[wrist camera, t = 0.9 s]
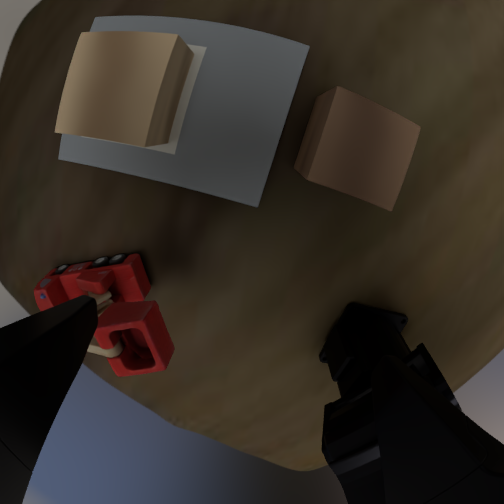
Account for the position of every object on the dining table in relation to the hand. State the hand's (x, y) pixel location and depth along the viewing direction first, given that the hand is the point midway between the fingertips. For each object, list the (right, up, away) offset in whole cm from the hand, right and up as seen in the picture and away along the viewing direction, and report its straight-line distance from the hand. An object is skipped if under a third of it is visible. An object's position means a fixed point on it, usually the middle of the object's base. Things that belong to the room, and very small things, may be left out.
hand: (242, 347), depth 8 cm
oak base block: (-7, +13, +7) cm, 16 cm away
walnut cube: (+6, +10, +9) cm, 15 cm away
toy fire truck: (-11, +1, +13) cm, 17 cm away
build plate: (-5, +13, +8) cm, 16 cm away
